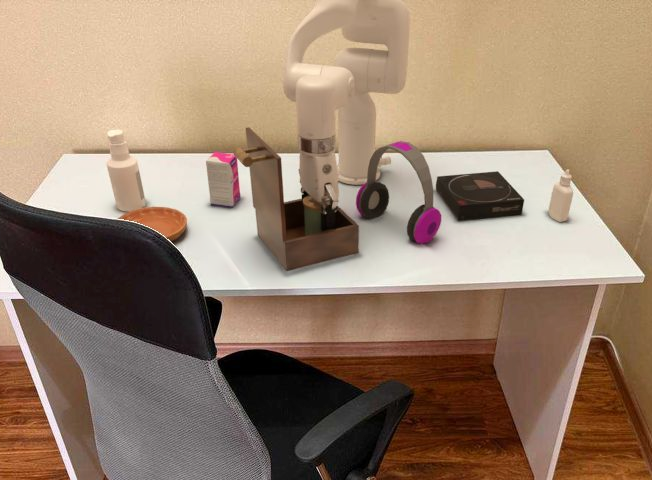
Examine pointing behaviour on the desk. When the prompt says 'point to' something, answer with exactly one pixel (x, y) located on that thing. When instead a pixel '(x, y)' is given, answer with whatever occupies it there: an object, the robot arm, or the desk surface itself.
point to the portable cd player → (479, 196)
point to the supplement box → (223, 179)
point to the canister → (313, 215)
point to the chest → (309, 238)
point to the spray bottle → (124, 174)
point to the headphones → (376, 194)
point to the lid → (265, 181)
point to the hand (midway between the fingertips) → (318, 219)
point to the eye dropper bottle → (561, 198)
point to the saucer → (159, 220)
